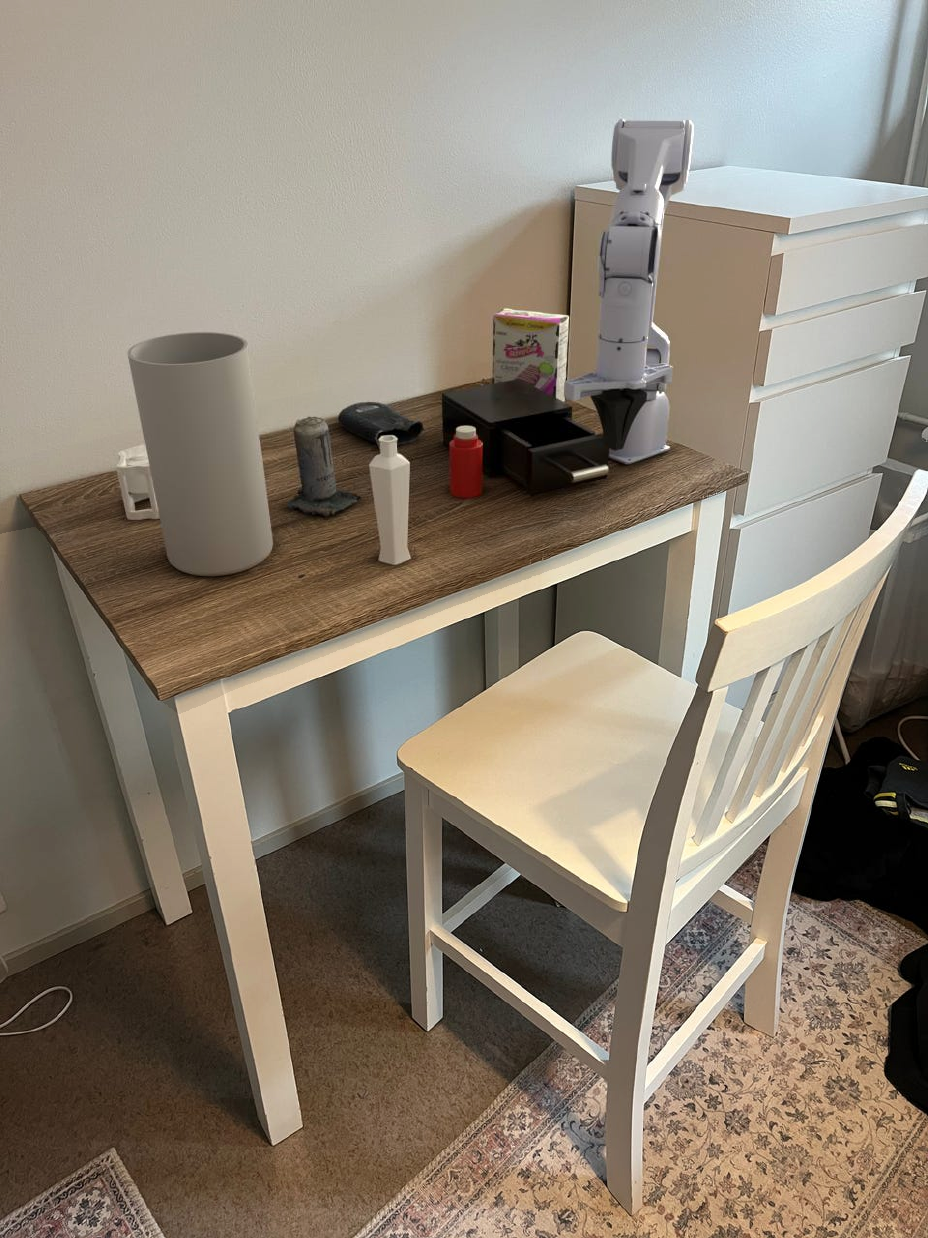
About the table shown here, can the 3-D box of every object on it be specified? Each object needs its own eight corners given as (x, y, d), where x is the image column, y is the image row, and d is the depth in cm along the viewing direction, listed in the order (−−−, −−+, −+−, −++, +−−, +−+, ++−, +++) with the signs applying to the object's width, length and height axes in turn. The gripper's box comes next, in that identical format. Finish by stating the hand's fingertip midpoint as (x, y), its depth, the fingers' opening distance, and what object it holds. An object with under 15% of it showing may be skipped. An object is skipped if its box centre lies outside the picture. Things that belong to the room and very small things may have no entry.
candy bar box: (490, 416, 156) (491, 314, 147) (502, 406, 160) (503, 307, 151) (555, 425, 152) (559, 321, 143) (565, 415, 156) (570, 313, 147)
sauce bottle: (468, 482, 133) (468, 420, 128) (488, 492, 130) (489, 429, 125) (443, 490, 131) (442, 428, 126) (463, 500, 128) (463, 437, 123)
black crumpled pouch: (428, 445, 149) (378, 407, 158) (426, 414, 145) (374, 377, 154) (378, 466, 145) (329, 426, 154) (374, 435, 141) (324, 395, 150)
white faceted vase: (408, 567, 112) (403, 447, 104) (373, 564, 112) (364, 444, 105) (418, 550, 116) (413, 432, 108) (383, 547, 116) (376, 430, 108)
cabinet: (569, 459, 140) (572, 406, 135) (489, 477, 134) (489, 422, 130) (518, 428, 151) (519, 378, 146) (442, 444, 145) (441, 392, 141)
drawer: (627, 490, 128) (631, 446, 124) (550, 509, 123) (552, 464, 120) (554, 447, 141) (556, 406, 138) (481, 462, 137) (481, 420, 133)
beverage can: (281, 512, 125) (270, 425, 119) (308, 490, 131) (300, 406, 125) (343, 522, 122) (335, 433, 116) (368, 499, 128) (362, 413, 122)
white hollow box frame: (246, 464, 139) (239, 416, 135) (277, 490, 131) (270, 439, 127) (108, 496, 130) (97, 445, 126) (132, 526, 122) (121, 472, 118)
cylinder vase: (279, 570, 111) (252, 358, 98) (169, 586, 108) (127, 369, 95) (267, 525, 122) (241, 328, 108) (166, 538, 119) (127, 337, 106)
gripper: (591, 353, 104) (583, 469, 111) (694, 336, 110) (681, 446, 117) (556, 338, 110) (551, 449, 117) (656, 322, 115) (646, 429, 123)
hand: (614, 447), depth 117 cm, fingers closed
